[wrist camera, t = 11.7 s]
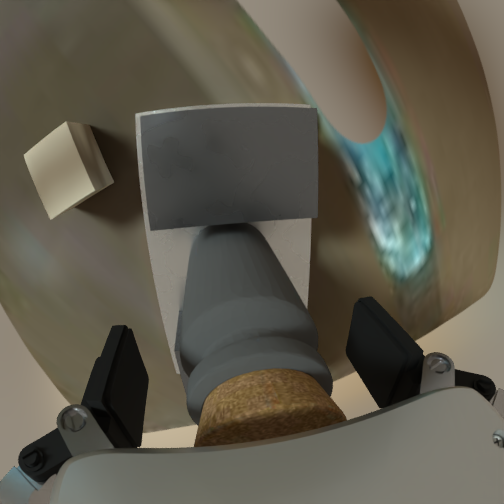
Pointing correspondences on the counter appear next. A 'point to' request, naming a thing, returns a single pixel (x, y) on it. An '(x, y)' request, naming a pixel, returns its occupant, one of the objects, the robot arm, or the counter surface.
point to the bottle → (249, 344)
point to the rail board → (225, 188)
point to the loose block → (67, 168)
